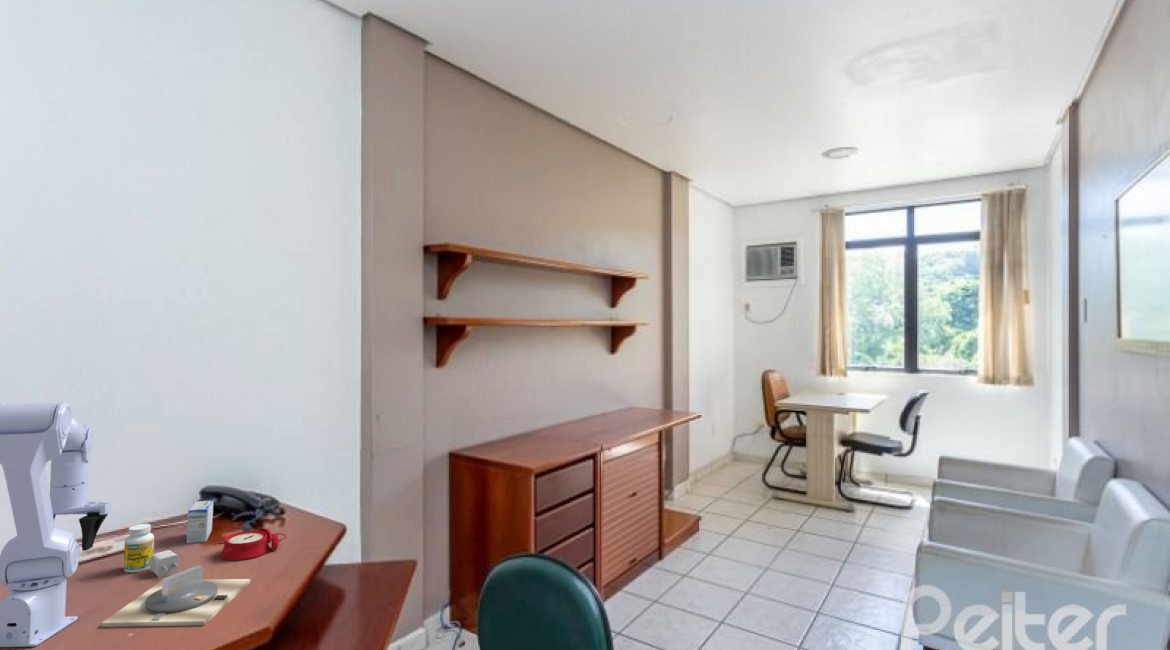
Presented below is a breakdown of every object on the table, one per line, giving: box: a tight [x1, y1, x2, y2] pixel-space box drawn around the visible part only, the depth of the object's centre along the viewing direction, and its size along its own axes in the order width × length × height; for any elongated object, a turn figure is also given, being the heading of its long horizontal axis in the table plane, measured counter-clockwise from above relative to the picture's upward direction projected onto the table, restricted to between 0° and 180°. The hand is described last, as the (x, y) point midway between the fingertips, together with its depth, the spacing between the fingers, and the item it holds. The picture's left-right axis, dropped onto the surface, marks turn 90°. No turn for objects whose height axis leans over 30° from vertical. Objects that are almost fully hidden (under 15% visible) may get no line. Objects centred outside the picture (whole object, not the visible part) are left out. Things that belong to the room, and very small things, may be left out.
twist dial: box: [145, 565, 218, 613], centre depth 115 cm, size 12×12×5 cm
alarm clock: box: [213, 527, 287, 561], centre depth 142 cm, size 10×6×15 cm
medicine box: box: [186, 500, 214, 545], centre depth 149 cm, size 8×4×9 cm, turn 25°
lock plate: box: [100, 578, 251, 628], centre depth 115 cm, size 18×18×1 cm
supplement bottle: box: [123, 523, 155, 574], centre depth 130 cm, size 5×5×10 cm
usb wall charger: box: [149, 549, 180, 577], centre depth 128 cm, size 4×7×4 cm, turn 54°
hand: (66, 549), depth 117 cm, fingers open, 7 cm apart
